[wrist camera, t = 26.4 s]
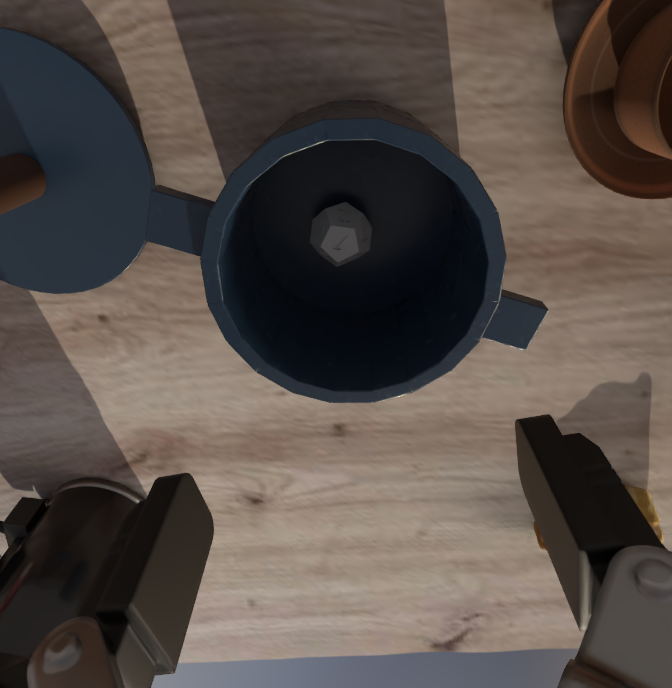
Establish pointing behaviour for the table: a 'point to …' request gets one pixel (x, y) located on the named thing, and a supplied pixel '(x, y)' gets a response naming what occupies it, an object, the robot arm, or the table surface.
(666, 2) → the cup and saucer
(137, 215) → the lid
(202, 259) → the pot
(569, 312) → the table surface
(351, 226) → the game die
